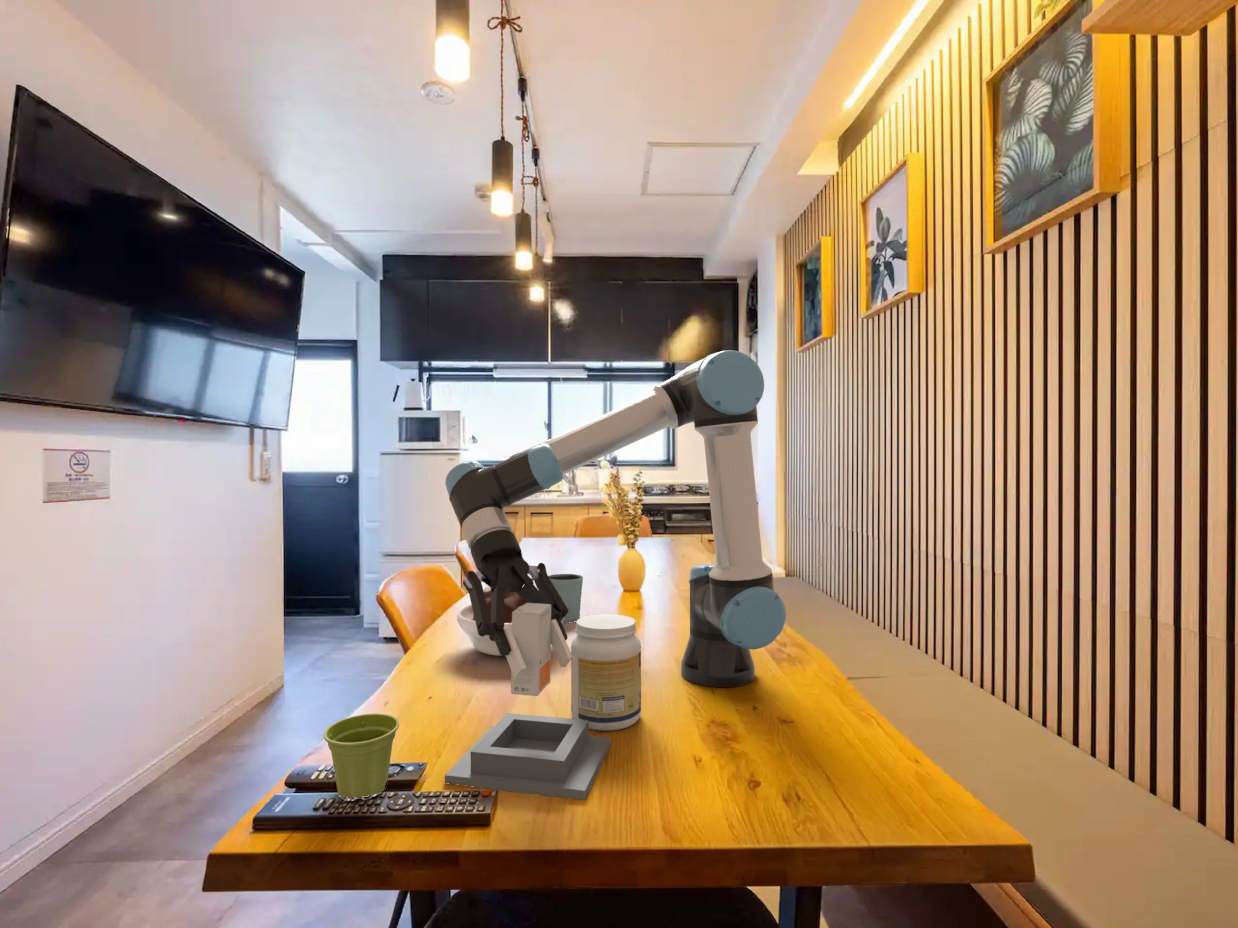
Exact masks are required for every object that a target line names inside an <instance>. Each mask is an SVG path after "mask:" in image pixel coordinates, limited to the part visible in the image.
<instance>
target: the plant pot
mask: <svg viewBox="0 0 1238 928" xmlns="http://www.w3.org/2000/svg"><path fill="white" fill-rule="evenodd" d="M399 727H400V720H399V719H398V718H397V717H396V716H394V715H390V714H388V713H375V712H374V713H364V714H360V715H353V716H348V717H346V718H343V719H341V720H338V721H336V722H334V723H332V724H331V725H330V726H328V727H327V728H326V729H325V730H324V732H323V738H324V741H326V742H327V745H328V749H329V750H330V751H331V757H332V764H333V770H334V772H333V773H334V776H335V783H336V789H337V796H338V795H340V796H346V797H362V796H368V795H373V794H377V793H380V792H382V791H385V790H386V788H385V785H386V782H387V779H388V780H389V772H390V762H391V758H392V757H391V756H392V750H393V749H392V748H393V743H394V739H395V737H396V734H397V733H396V731H398V729H399ZM387 783H388V782H387ZM384 789H385V790H384ZM382 793H383V792H382Z"/></svg>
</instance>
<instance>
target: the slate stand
mask: <svg viewBox="0 0 1238 928" xmlns="http://www.w3.org/2000/svg"><path fill="white" fill-rule="evenodd" d="M589 731H590V729H589V720H581V719H574V718H568V717H557V716H556V717H555V716H545V715H532V714H523V713H522V714H520V713H512V712H511V713H508V712H506V713H505V715H503V717H502V718H501V719H500V720H499V721H498V722H496V724H495V725H494V726H490V727H489V728H488V729H487V730H486V731H485V732H484V733H483V734H482V735H481V737H480V738H479V739H478V740H477V741H476V742H475V743H474V744H473V745H471V747H470V748H469V749H468V750H467V751H466V752H465V753H464V754H463V755H462V756H461V757H460V759H458V761H456V763H455V764H454V765H453V766H452V767H451V768H449V770H448V771H447V772H446V773H445V774H444V784H445V783H449V784H448V785H451V784H459V785H458V786H460V785H467V786H466V787H469V786H474V787H473V788H477V787H482V788H481V789H486V788H488V789H487V790H495V789H498V790H497V791H506V792H515V793H523V794H531V795H541V796H547V797H548V796H549V797H559V798H567V799H576V800H582V801H584V800H586V798H587V797H588V794H589V792H590V791H591V788H592V786H593V783H594V782H595V780H596V778H597V775H598V774H599V771H600V769H601V767H602V764H603V762H604V761H605V759H606V757H607V755H608V753H609V750H610V748H611V745H612V744H611V742H612V740H611V739H612V737H607V736H606V737H605V736H597V735H595V736H594V735H589V733H590V732H589Z"/></svg>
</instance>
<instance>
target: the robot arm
mask: <svg viewBox="0 0 1238 928" xmlns="http://www.w3.org/2000/svg"><path fill="white" fill-rule="evenodd" d="M764 390H765V380H764V375H763V372H762V369H761V367H760V366H759V365H758V364H757V362H756V361H755V360H754V359H752V357H751V356H749V355H747V353H744V352H741V351H739V350H734V349H733V350H732V349H729V350H728V349H727V350H726V349H725V350H722V351H721V350H720V351H718V352H712V353H711V354H708V355H707V356H705V357H704V358H702V359H700V360H698V361H696V362H694V363H692V364H690V365H689V366H687V367H685V368H684V369H683V370H682V371H679V372H678V373H677V374H675V375H674V376H672V377H671V378H669V379H666V381H663V382H660V383H659V384H657V385H655V386H654V387H653V390H652V391H651V392H652V393H649V394H647V395H645V396H643V397H640V398H637V399H636V400H633V401H632V402H628V403H626V404H625V405H622V406H620V407H618V408H616V409H613V410H612V411H609V412H607V413H605V414H602V415H600V416H598V417H596V418H594V419H592V420H589V421H587V422H584V423H583V424H580V425H579V426H576V427H574V428H571V429H569V430H567V431H564V432H563V433H561V434H558V435H556V436H554V437H551V438H550V439H547V440H545V441H543V442H540V444H537V445H534V446H531V447H530V448H528V449H524V450H523V451H519V452H516V453H514V454H513V455H511V456H509V458H507V459H505V460H502V461H501V462H497V464H494V465H492V466H488V467H484V465H483V464H482V463H480V462H478V461H470V462H466V461H465V462H462V463H459V464H457V465H455V466H454V467H453V468H451V469H450V471H449V472H448V473H447V475H446V477H445V487H446V490H447V495H448V499H449V501H450V504H451V506H452V508H453V511H454V513H455V517H456V518H457V521H458V523H459V526H460V528H461V531H462V534H463V536H464V538H465V540H466V544H467V546H468V548H469V550H470V554H471V557H472V560H473V562H474V565H475V567H476V569H477V571H473V570H469V571H467V573H466V575H465V578H464V579H463V582H462V585H463V586H464V588H465V590H466V591H467V592H468V596H469V598H470V605H471V604H472V609H473V613H474V618H475V622H476V627H477V631H478V634H479V635H480V636H485V635H489V639H490V640H491V641H495V643H496V645H497V647H498V651H499V653H500V655H501V656H500V657H505V658H506V660H507V662H508V665H509V668H510V672H511V671H512V673H513V676H514V678H515V679H516V678H520V676H521V675H522V673H523V672H524V670H525V669H526V666H525V663H524V661H523V658H522V656H521V653H520V651H519V648H518V646H517V643H516V641H515V638H514V636H513V633H512V631H511V628H506V629H505V630H504V593H507V592H516V593H517V594H518V595H519V596H520V597H523V598H524V599H525V600H526V601H527V602H528V603H538V604H551V648H552V649H553V652H554V654H555V656H556V658H557V661H558V663H559V666H560V668H565V667H566V666H568V664H569V663H570V662H571V659H572V657H573V656H572V654H571V648H570V647H569V645H568V643H567V640H568V633H567V632H566V629H565V627H564V625H563V623H562V620H563V619H564V618H565V616H566V615H567V613H568V608H567V607H566V605H565V603H564V602H563V600H562V598H561V597H560V595H559V593H558V592H557V590H556V588H555V587H554V585H553V583H552V582H551V580H550V578H549V577H548V576H549V574H548V572H547V568H546V564H544V563H543V562H539V563H538V565H530V564H529V563H528V561H526V560H525V559H524V557H523V553H522V549H521V546H520V544H519V542H518V540H517V537H516V536H515V533H514V532H513V531H514V530H513V528H512V526H511V524H510V523H511V522H510V521H509V519H508V517H507V515H506V513H505V511H504V508H506V507H509V506H511V505H513V504H515V503H517V502H519V501H521V500H525V499H526V498H528V497H531V496H533V495H536V494H538V493H540V492H542V491H544V490H549V489H550V488H551V487H553V486H556V485H557V484H559V483H560V482H562V481H563V480H564V475H566V474H568V473H571V472H573V471H574V470H577V469H579V468H581V467H584V466H585V465H588V464H590V463H592V462H594V461H596V460H599V459H601V458H603V457H606V456H608V455H610V454H612V453H614V452H616V451H619V450H621V449H623V448H625V447H627V446H630V445H631V444H633V443H634V444H635V442H638V441H640V440H642V439H644V438H647V437H649V436H651V435H653V434H655V433H658V432H660V431H662V430H664V429H667V428H670V429H673V430H676V429H677V428H680V427H682V426H685V425H687V424H691V423H693V424H694V430H695V431H696V432H698V434H699V435H701V436H702V438H703V442H704V443H703V444H704V451H705V463H706V464H705V465H706V475H707V483H708V484H707V485H708V494H709V495H708V496H709V503H710V514H711V515H710V516H711V524H712V526H711V527H712V534H713V535H712V536H713V544H714V545H713V546H714V555H715V556H714V557H715V563H714V564H713V563H709V564H695V565H693V566H692V567H691V569H690V572H689V573H690V574H689V580H688V583H689V638H688V642H687V644H686V647H685V650H684V654H683V656H682V659H681V665H680V673H681V676H682V677H683V678H684V679H685V680H687V681H690V682H691V683H695V684H697V685H703V686H707V687H715V688H717V687H718V688H732V687H739V686H743V685H747V684H749V683H752V682H753V681H754V679H755V678H756V677H755V676H756V674H755V670H756V669H755V662H754V660H753V656H752V653H751V650H757V649H758V650H759V649H762V648H765V647H768V645H771V644H772V643H773V642H774V641H776V639H777V638H778V637H779V635H780V634H781V633H782V632H783V630H784V627H785V624H786V620H787V619H786V618H787V612H786V611H787V610H786V605H785V603H784V601H783V599H782V598H781V596H780V595H779V594H778V592H776V591H775V587H774V577H773V570H772V568H771V567H770V566H769V565H768V564H767V563H765V562H764V560H763V552H762V551H763V550H762V543H761V532H760V531H761V530H760V519H759V518H760V517H759V511H758V509H759V508H758V500H757V499H758V497H757V489H756V480H755V479H756V478H755V469H754V468H755V466H754V459H753V446H752V437H751V435H752V434H751V433H752V431H753V429H755V427H756V426H757V425H758V421H759V420H758V419H759V418H758V410H757V409H758V408H757V405H758V404H759V403H760V401H761V399H762V398H763V395H764ZM529 575H530V576H529ZM482 582H483V583H484V584H486V585H488V586H489V587H491V595H490V599H491V620H490V616H489V612H488V607H487V603H486V599H485V595H484V591H483V590H484V588H483V584H482Z"/></svg>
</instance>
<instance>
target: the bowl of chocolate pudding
mask: <svg viewBox="0 0 1238 928" xmlns="http://www.w3.org/2000/svg"><path fill="white" fill-rule="evenodd" d="M484 595H485V599H486V603H487V607H488V612H489V616H490V620H491V599H490V595H491V591H487V592H484ZM526 603H528V602H527V601H526V600H525V599H524V598H523V597H520V596H519V595H518V594H517V593H516V592H507V593H504V630H505V629H506V628H511V631H512V612H513V611H515V610H516V609H518V607H520V606H522V605H524V604H526ZM563 620H564V619H563ZM563 620H562V622H563ZM456 621H457V624H458V625H459V627H460V628H461V630H462V631H463V632H464V633H465V635H467V636H468V637H469V639H470V642H471V644H472V646H473V648H474V649H476V650H477V651H478V652H480V653H482V654H485V655H489V656H496V657H502V656H501V655H500V653H499V651H498V647H497V645H496V643H495V641H491V640H490V639H489V635H485V636H480V635H479V634H478V631H477V627H476V622H475V618H474V613H473V609H472V604H471V603H470V604H469V605H466V606H463V608H461V609H460V610H459V611H458V613H457V615H456Z"/></svg>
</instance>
